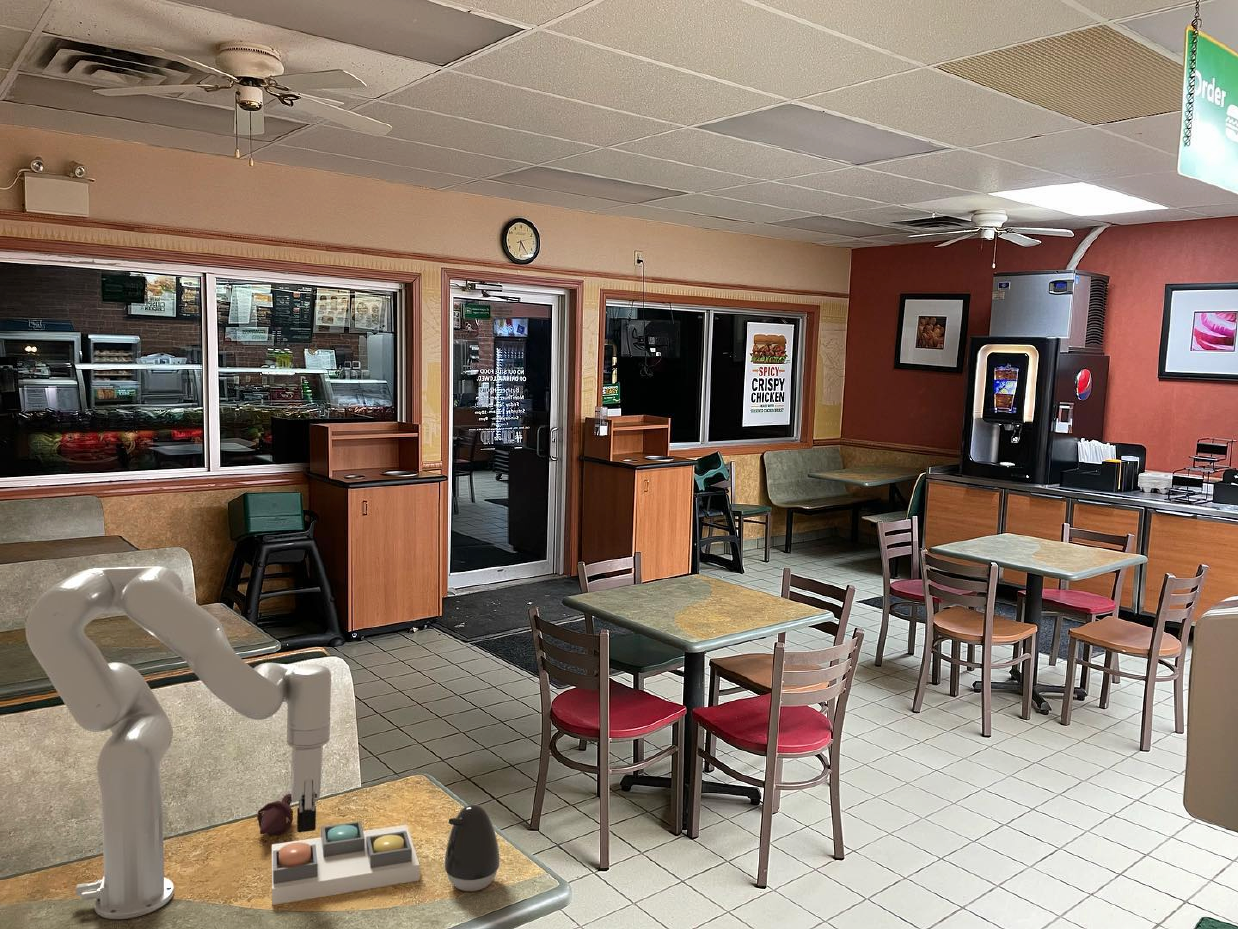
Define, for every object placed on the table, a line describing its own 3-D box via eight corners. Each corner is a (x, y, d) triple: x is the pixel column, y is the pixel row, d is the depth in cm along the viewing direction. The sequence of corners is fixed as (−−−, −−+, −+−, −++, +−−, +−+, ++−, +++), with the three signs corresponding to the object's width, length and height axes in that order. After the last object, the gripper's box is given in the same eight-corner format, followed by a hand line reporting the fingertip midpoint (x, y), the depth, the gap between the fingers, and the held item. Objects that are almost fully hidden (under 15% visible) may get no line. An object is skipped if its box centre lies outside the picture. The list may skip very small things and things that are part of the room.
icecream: (283, 821, 182) (309, 794, 197) (248, 810, 182) (276, 785, 197) (274, 854, 182) (300, 825, 197) (238, 844, 182) (267, 816, 197)
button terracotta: (279, 872, 166) (278, 859, 166) (278, 857, 171) (278, 845, 171) (311, 867, 168) (311, 854, 168) (310, 852, 173) (310, 840, 173)
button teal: (328, 852, 176) (328, 840, 176) (326, 839, 181) (326, 827, 181) (358, 848, 178) (358, 836, 178) (356, 835, 183) (356, 823, 183)
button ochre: (375, 863, 172) (375, 851, 172) (372, 849, 178) (372, 837, 177) (405, 858, 174) (405, 846, 174) (401, 845, 180) (401, 833, 179)
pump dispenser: (432, 884, 172) (432, 806, 170) (476, 864, 179) (477, 789, 178) (466, 906, 165) (466, 824, 163) (510, 884, 172) (511, 806, 171)
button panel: (272, 905, 164) (272, 875, 163) (271, 859, 179) (271, 832, 179) (419, 880, 173) (419, 852, 172) (406, 838, 189) (406, 813, 188)
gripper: (285, 721, 174) (283, 814, 176) (287, 750, 160) (285, 851, 162) (327, 717, 177) (324, 809, 178) (332, 746, 163) (330, 846, 165)
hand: (306, 829), depth 170 cm, fingers closed
